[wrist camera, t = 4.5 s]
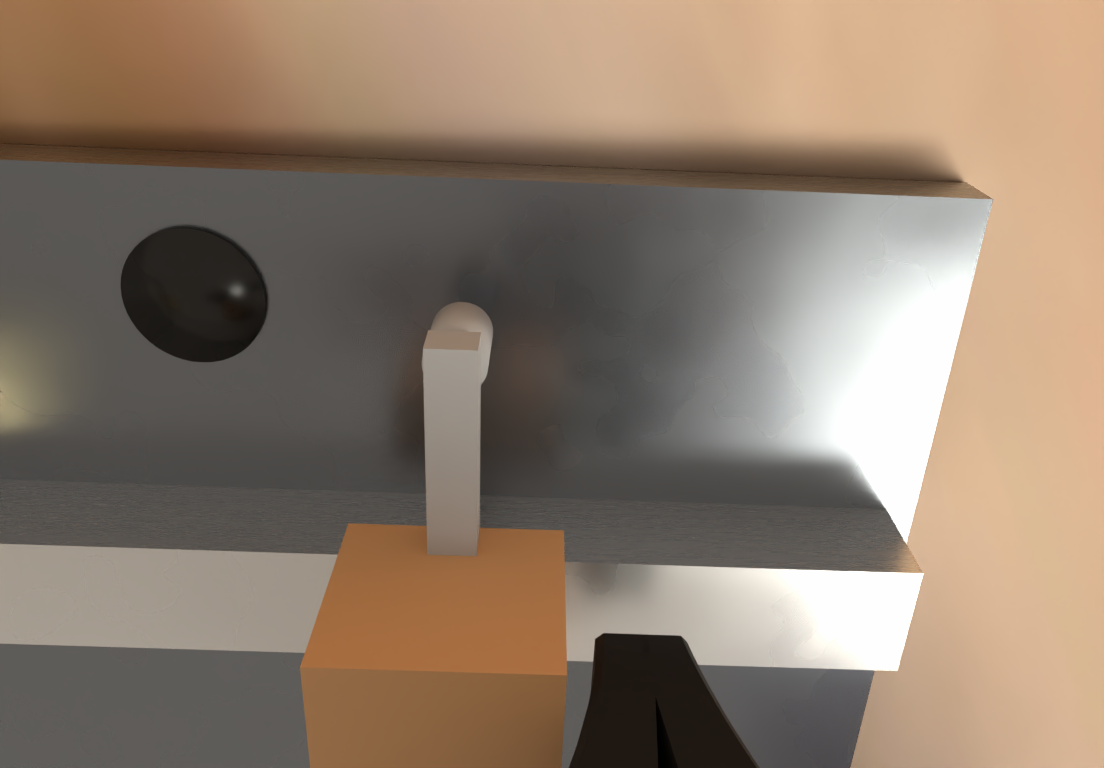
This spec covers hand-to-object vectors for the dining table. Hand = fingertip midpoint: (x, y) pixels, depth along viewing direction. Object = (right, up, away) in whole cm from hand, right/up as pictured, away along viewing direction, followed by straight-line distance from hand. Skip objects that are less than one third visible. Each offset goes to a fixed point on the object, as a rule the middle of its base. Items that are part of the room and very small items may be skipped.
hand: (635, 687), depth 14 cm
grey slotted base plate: (-6, +2, +4) cm, 7 cm away
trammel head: (-3, +3, +1) cm, 4 cm away
